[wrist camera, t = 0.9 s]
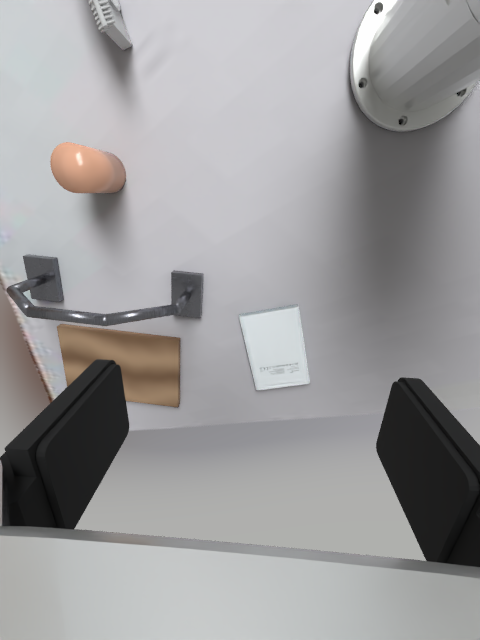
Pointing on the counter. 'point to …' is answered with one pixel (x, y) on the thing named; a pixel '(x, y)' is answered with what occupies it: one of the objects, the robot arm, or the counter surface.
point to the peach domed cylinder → (87, 169)
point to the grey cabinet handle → (48, 287)
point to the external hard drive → (275, 347)
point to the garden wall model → (111, 21)
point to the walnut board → (126, 360)
